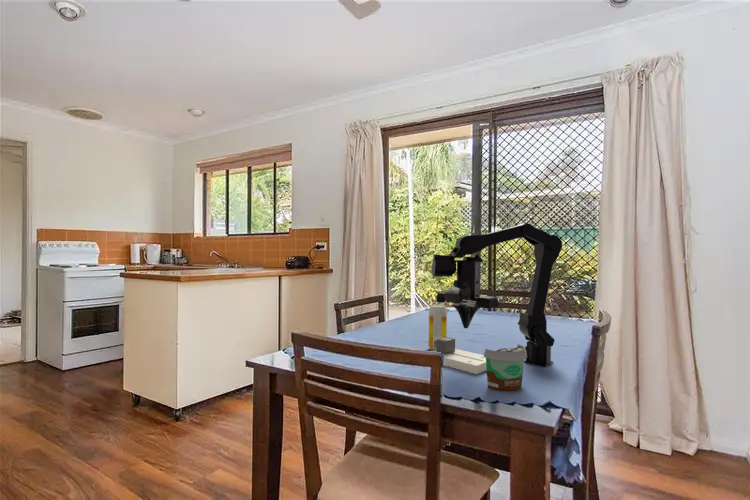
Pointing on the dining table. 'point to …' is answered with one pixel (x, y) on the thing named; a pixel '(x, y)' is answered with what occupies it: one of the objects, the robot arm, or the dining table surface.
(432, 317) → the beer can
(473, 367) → the fader console
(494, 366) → the food container
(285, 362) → the dining table surface
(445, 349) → the fader cap
